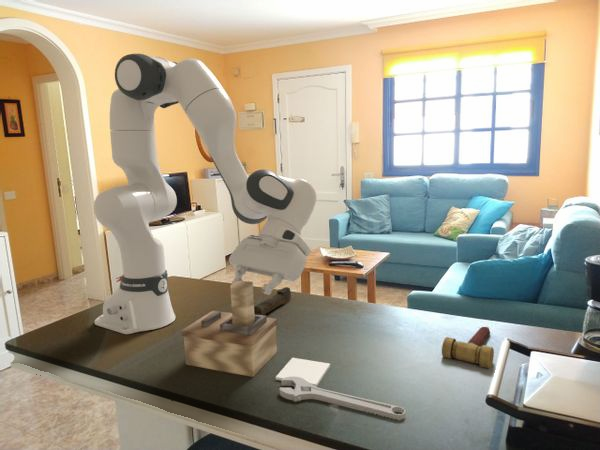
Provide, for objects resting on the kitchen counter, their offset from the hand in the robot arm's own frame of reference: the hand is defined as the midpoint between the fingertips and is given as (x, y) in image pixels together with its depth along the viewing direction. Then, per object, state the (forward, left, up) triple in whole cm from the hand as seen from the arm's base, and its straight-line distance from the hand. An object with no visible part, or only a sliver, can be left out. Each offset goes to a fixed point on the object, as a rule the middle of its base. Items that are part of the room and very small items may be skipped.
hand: (250, 289), depth 100 cm
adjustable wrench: (+23, -12, -17) cm, 31 cm away
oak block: (-1, -2, -8) cm, 8 cm away
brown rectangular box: (-4, -2, -16) cm, 17 cm away
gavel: (+48, +21, -17) cm, 55 cm away
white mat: (+14, -3, -16) cm, 21 cm away
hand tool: (-9, +30, -17) cm, 35 cm away
